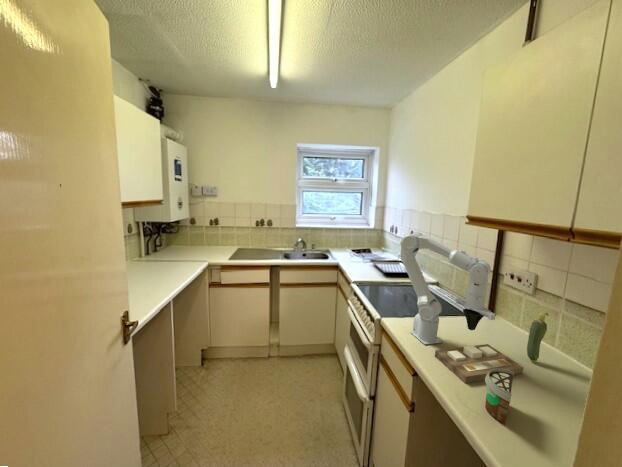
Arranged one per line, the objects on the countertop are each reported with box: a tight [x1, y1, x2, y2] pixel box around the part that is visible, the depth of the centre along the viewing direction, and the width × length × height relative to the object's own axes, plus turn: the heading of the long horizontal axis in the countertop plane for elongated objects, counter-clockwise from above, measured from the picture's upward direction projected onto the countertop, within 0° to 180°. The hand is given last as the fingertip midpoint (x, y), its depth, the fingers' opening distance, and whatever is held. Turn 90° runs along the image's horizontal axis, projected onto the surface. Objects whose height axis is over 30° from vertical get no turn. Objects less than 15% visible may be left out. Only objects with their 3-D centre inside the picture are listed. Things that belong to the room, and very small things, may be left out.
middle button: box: [463, 345, 482, 359], centre depth 98 cm, size 4×4×2 cm
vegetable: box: [526, 311, 549, 364], centre depth 98 cm, size 4×4×20 cm
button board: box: [434, 343, 525, 384], centre depth 96 cm, size 14×24×3 cm, turn 105°
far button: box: [479, 346, 497, 357], centre depth 100 cm, size 4×4×2 cm
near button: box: [447, 350, 466, 361], centre depth 96 cm, size 4×4×2 cm
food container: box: [484, 369, 515, 426], centre depth 76 cm, size 12×6×10 cm, turn 141°
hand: (471, 329), depth 100 cm, fingers closed
